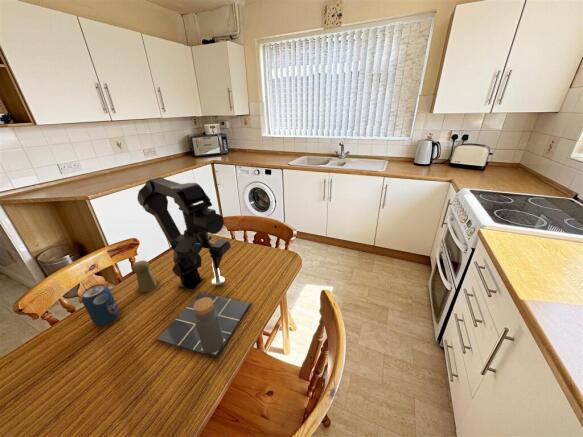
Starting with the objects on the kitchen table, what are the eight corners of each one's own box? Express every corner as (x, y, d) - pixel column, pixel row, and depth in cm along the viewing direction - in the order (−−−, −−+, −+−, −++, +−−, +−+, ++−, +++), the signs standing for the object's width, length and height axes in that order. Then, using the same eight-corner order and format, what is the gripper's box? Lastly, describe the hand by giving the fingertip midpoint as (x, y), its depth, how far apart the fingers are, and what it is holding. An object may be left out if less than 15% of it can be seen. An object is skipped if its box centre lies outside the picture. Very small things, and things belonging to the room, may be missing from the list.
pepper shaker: (135, 289, 89) (125, 265, 85) (149, 280, 94) (141, 256, 90) (146, 293, 87) (137, 269, 82) (160, 283, 92) (152, 259, 88)
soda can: (121, 320, 76) (108, 291, 71) (94, 332, 72) (78, 302, 67) (119, 307, 81) (107, 279, 76) (94, 317, 78) (79, 289, 72)
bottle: (222, 351, 64) (213, 310, 58) (200, 355, 64) (188, 314, 57) (224, 333, 70) (216, 294, 63) (204, 336, 69) (193, 297, 63)
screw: (212, 282, 92) (225, 279, 93) (212, 290, 88) (226, 287, 89) (206, 254, 86) (219, 251, 88) (206, 261, 82) (220, 258, 83)
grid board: (157, 340, 69) (156, 339, 69) (200, 293, 86) (199, 292, 86) (217, 358, 63) (216, 356, 63) (250, 304, 81) (249, 302, 80)
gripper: (150, 233, 69) (164, 277, 75) (206, 241, 63) (215, 287, 70) (178, 217, 78) (188, 257, 85) (227, 223, 73) (234, 265, 79)
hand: (205, 266), depth 79 cm, fingers open, 9 cm apart
